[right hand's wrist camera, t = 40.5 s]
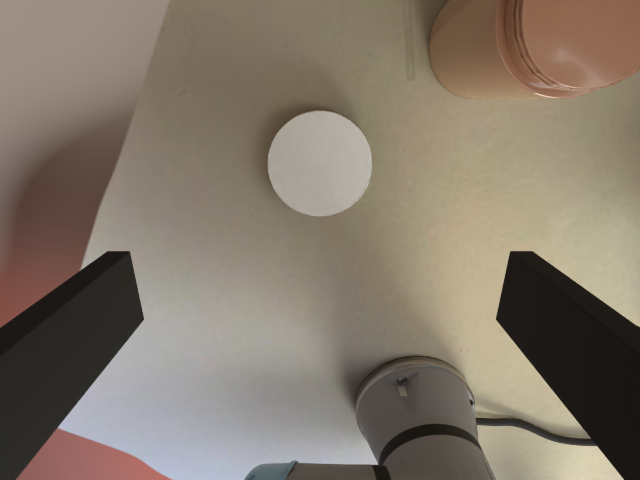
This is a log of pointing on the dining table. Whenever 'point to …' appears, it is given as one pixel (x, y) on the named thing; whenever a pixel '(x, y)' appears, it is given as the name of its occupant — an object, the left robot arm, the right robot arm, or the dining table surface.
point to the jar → (534, 47)
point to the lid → (319, 163)
